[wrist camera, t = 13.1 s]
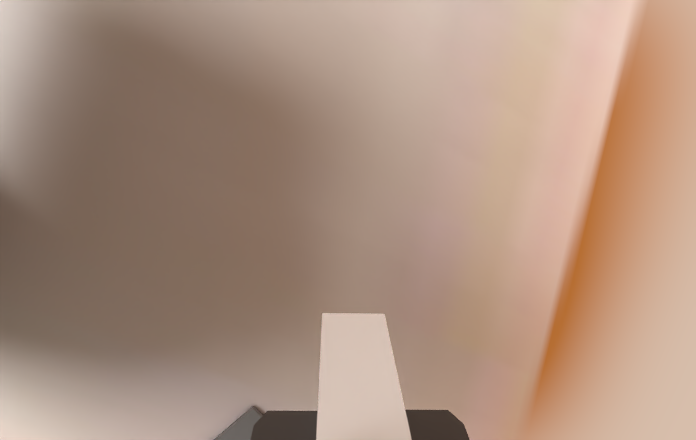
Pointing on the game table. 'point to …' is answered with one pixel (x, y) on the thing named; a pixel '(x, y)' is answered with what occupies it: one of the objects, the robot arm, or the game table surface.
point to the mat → (241, 426)
